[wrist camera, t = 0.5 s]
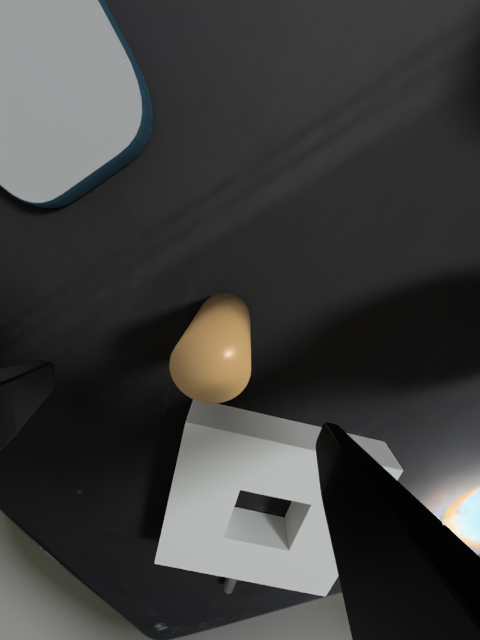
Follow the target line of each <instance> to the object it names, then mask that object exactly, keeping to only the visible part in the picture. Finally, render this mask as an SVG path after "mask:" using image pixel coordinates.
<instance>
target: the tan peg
mask: <svg viewBox="0 0 480 640" xmlns="http://www.w3.org/2000/svg"><path fill="white" fill-rule="evenodd" d="M170 373H171V376H172V379H173V381H174V383H175V384H176V386H177V387H178V388H179V389H180V390H181V391H182V392H183V393H184V394H185V395H187V396H188V397H190V398H192V399H194V400H196V401H200V402H204V403H222V402H225V401H228V400H231V399H233V398H234V397H236V396H237V395H239V394H240V393H241V392H242V391H243V390H244V389H245V387H246V386H247V384H248V382H249V379H250V375H251V340H250V313H249V310H248V307H247V306H246V304H245V303H244V302H243V301H242V300H241V299H240V298H239V297H237V296H235V295H233V294H229V293H219V294H215V295H213V296H211V297H209V298H208V299H207V300H206V301H205V302H204V303H203V305H202V306H201V308H200V310H199V311H198V313H197V314H196V316H195V317H194V319H193V320H192V322H191V323H190V325H189V327H188V328H187V330H186V331H185V333H184V334H183V336H182V337H181V339H180V340H179V342H178V344H177V345H176V347H175V348H174V350H173V352H172V354H171V358H170Z"/></svg>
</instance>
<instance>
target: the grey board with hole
mask: <svg viewBox="0 0 480 640" xmlns="http://www.w3.org/2000/svg"><path fill="white" fill-rule="evenodd" d="M321 429H322V427H318V426H313V425H309V424H305V423H300V422H296V421H291V420H287V419H283V418H278V417H274V416H269V415H265V414H261V413H256V412H252V411H248V410H243V409H239V408H234V407H230V406H226V405H221V404H217V403H204V402H200V401H196V400H194V399H193V401H192V404H191V407H190V410H189V413H188V416H187V419H186V422H185V427H184V431H183V436H182V440H181V445H180V450H179V454H178V459H177V463H176V468H175V472H174V477H173V481H172V486H171V490H170V495H169V499H168V504H167V508H166V513H165V518H164V522H163V527H162V531H161V536H160V540H159V545H158V549H157V554H156V558H155V563H154V564H159V565H164V566H169V567H175V568H180V569H185V570H190V571H195V572H201V573H206V574H211V575H216V576H221V577H226V580H225V582H224V591H225V592H226V593H227V594H230V593H231V592H232V591H233V589H234V586H235V584H236V581H237V580H242V581H247V582H252V583H258V584H263V585H268V586H273V587H278V588H284V589H289V590H294V591H299V592H304V593H310V594H315V595H320V596H325V597H326V595H327V593H328V592H329V590H330V589H331V587H332V585H333V584H334V582H335V581H336V579H337V577H338V576H339V575H338V571H337V566H336V561H335V557H334V552H333V548H332V543H331V539H330V534H329V530H328V525H327V521H326V516H325V512H324V507H323V502H322V497H321V490H320V482H319V473H318V465H317V457H316V441H317V438H318V436H319V433H320V431H321ZM347 434H348V433H347ZM348 435H349V436H350V437H351V438H352V439H353V440H354V441H355V442H356V443H358V444H359V445H360V446H361V447H362V448H363V449H364V450H365V451H366V452H367V453H368V454H369V455H370V456H371V457H373V458H374V459H375V460H376V461H377V462H378V463H379V464H380V465H381V466H382V467H383V468H384V469H385V470H386V471H388V472H389V473H390V474H391V475H392V476H393V477H394V478H395V479H396V480H398V478H399V477H400V475H401V474H402V472H403V469H402V468H401V466H400V465H399V463H398V462H397V460H396V459H395V457H394V455H393V454H392V452H391V451H390V449H389V448H388V446H387V445H386V443H385V442H383V441H379V440H375V439H370V438H366V437H362V436H357V435H353V434H348ZM240 490H243V491H248V492H252V493H257V494H262V495H267V496H271V497H276V498H281V499H285V500H290V501H292V502H291V504H290V506H289V509H288V511H287V513H286V515H285V517H280V516H275V515H270V514H266V513H261V512H256V511H251V510H246V509H242V508H237V507H234V506H235V503H236V500H237V497H238V494H239V491H240Z"/></svg>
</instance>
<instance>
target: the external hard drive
mask: <svg viewBox="0 0 480 640" xmlns="http://www.w3.org/2000/svg"><path fill="white" fill-rule="evenodd" d="M152 129H153V107H152V103H151V98H150V93H149V91H148V88H147V85H146V82H145V79H144V77H143V74H142V72H141V70H140V68H139V66H138V64H137V62H136V60H135V57H134V55H133V53H132V51H131V50H130V48H129V46H128V44H127V42H126V40H125V38H124V36H123V34H122V33H121V31H120V29H119V27H118V25H117V23H116V21H115V19H114V17H113V16H112V14H111V12H110V10H109V8H108V6H107V4H106V2H105V0H0V186H1V187H2V188H3V189H4V190H6V191H7V192H8V193H9V194H11V195H12V196H13V197H15V198H17V199H19V200H21V201H22V202H24V203H27V204H30V205H34V206H38V207H42V208H59V207H62V206H66V205H69V204H70V203H72V202H74V201H76V200H78V199H79V198H81V197H82V196H83V195H85V194H86V193H88V192H89V191H91V190H92V189H93V188H95V187H96V186H98V185H99V184H101V183H102V182H104V181H105V180H106V179H108V178H109V177H111V176H112V175H114V174H115V173H117V172H118V171H119V170H121V169H122V168H124V167H125V166H127V165H128V164H130V163H131V162H132V161H133V160H134V159H136V158H137V157H138V156H139V155H140V154H141V153H142V152H143V150H144V149H145V148H146V146H147V144H148V142H149V140H150V137H151V135H152ZM54 198H55V199H54Z"/></svg>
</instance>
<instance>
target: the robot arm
mask: <svg viewBox="0 0 480 640" xmlns="http://www.w3.org/2000/svg"><path fill="white" fill-rule="evenodd" d="M53 388H54V365H53V364H52V363H51V362H46V361H41V360H36V361H32V362H28V363H23V364H19V365H14V366H10V367H5V368H1V369H0V450H1V449H2V448H3V447H4V446H5V445H6V444H7V443H8V442H9V441H10V440H11V439H12V438H13V437H14V436H15V435H16V434H17V433H18V432H19V430H20V429H21V428H22V427H23V426H24V425H25V423H26V422H27V421H28V420H29V419H30V417H31V416H32V415H33V414H34V413H35V411H36V410H37V409H38V408H39V407H40V405H41V404H42V403H43V402H44V401H45V399H46V398H47V397H48V396H49V394H50V393H51V392H52V390H53ZM316 457H317V465H318V473H319V482H320V490H321V497H322V502H323V507H324V512H325V516H326V521H327V525H328V530H329V534H330V539H331V543H332V548H333V552H334V557H335V561H336V566H337V571H338V575H339V580H340V584H341V589H342V593H343V598H344V602H345V607H346V611H347V616H348V620H349V625H350V630H351V634H352V639H353V640H480V557H479V556H478V555H477V554H476V553H475V552H473V551H472V550H471V549H470V548H469V547H468V546H467V545H466V544H465V543H464V542H463V541H461V540H460V539H459V538H458V537H457V536H456V535H455V534H454V533H453V532H452V531H451V530H450V529H449V528H448V527H447V526H445V525H443V524H442V522H441V521H440V520H439V519H438V518H437V517H436V516H435V515H434V514H432V513H431V512H430V511H429V510H428V509H427V508H426V507H425V506H424V505H423V504H422V503H421V502H420V501H419V500H417V499H416V498H415V497H414V496H413V495H412V494H411V493H410V492H409V491H408V490H407V489H406V488H405V487H404V486H403V485H401V484H400V483H399V482H398V481H397V480H396V479H395V478H394V477H393V476H392V475H391V474H390V473H389V472H388V471H386V470H385V469H384V468H383V467H382V466H381V465H380V464H379V463H378V462H377V461H376V460H375V459H374V458H373V457H371V456H370V455H369V454H368V453H367V452H366V451H365V450H364V449H363V448H362V447H361V446H360V445H359V444H358V443H356V442H355V441H354V440H353V439H352V438H351V437H350V436H349V435H348V434H347V433H346V432H345V431H344V430H343V429H341V428H340V427H339V426H338V425H336V424H332V423H324V424H323V426H322V429H321V431H320V433H319V436H318V438H317V441H316Z"/></svg>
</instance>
